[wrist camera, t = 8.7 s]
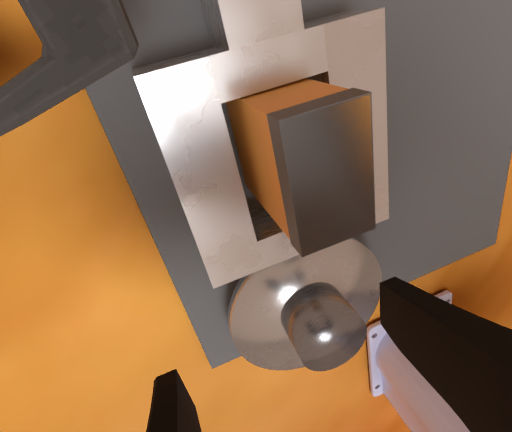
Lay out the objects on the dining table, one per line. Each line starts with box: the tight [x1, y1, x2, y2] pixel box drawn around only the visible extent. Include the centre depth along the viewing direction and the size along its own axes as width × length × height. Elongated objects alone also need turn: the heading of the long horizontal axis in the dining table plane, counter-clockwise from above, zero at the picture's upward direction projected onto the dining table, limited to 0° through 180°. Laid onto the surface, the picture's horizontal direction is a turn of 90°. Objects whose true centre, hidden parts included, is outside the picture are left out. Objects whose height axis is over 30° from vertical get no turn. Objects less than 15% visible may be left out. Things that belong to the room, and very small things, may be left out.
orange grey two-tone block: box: [226, 78, 376, 257], centre depth 15 cm, size 5×3×7 cm, turn 12°
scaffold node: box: [132, 0, 389, 371], centre depth 17 cm, size 26×10×5 cm, turn 12°
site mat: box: [85, 0, 512, 369], centre depth 20 cm, size 24×24×1 cm
